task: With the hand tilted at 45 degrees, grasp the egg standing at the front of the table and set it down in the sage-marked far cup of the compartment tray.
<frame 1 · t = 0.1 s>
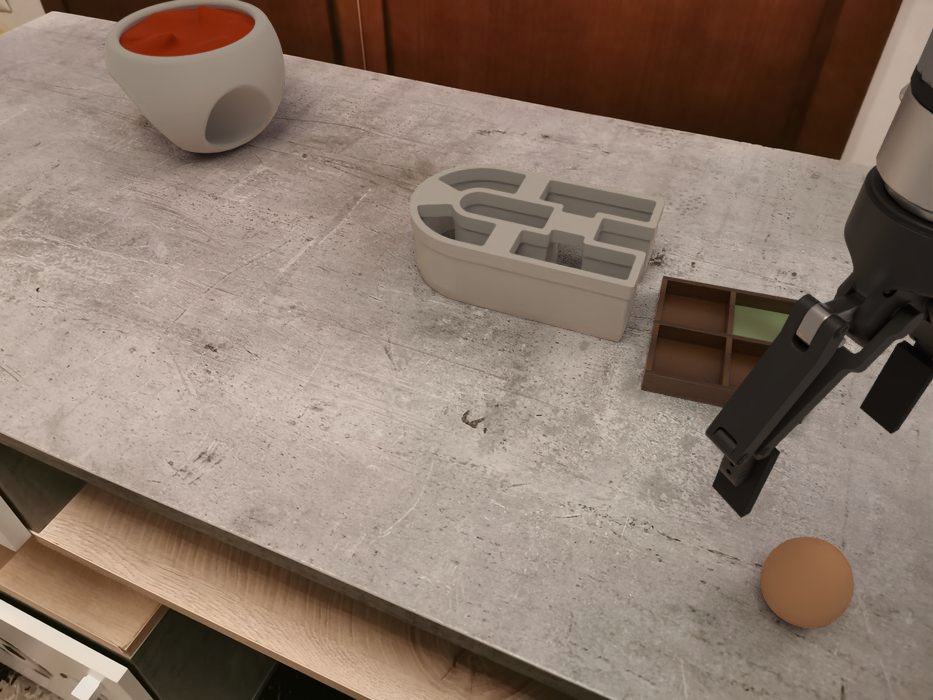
hand: (807, 457, 49), 17 cm above the worktop, tool pointing down, fingers open, 13 cm apart
pot: (219, 138, 112), on the worktop
grey compartment organizer: (524, 273, 89), on the worktop
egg: (789, 605, 59), on the worktop
compartment tray: (723, 352, 79), on the worktop
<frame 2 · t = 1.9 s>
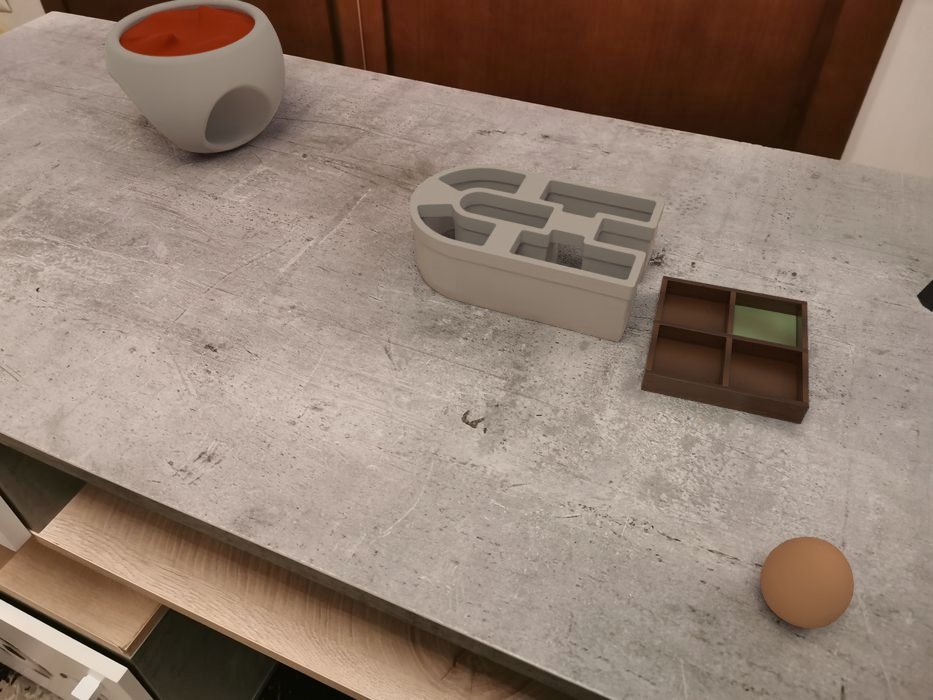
nothing on the worktop moved.
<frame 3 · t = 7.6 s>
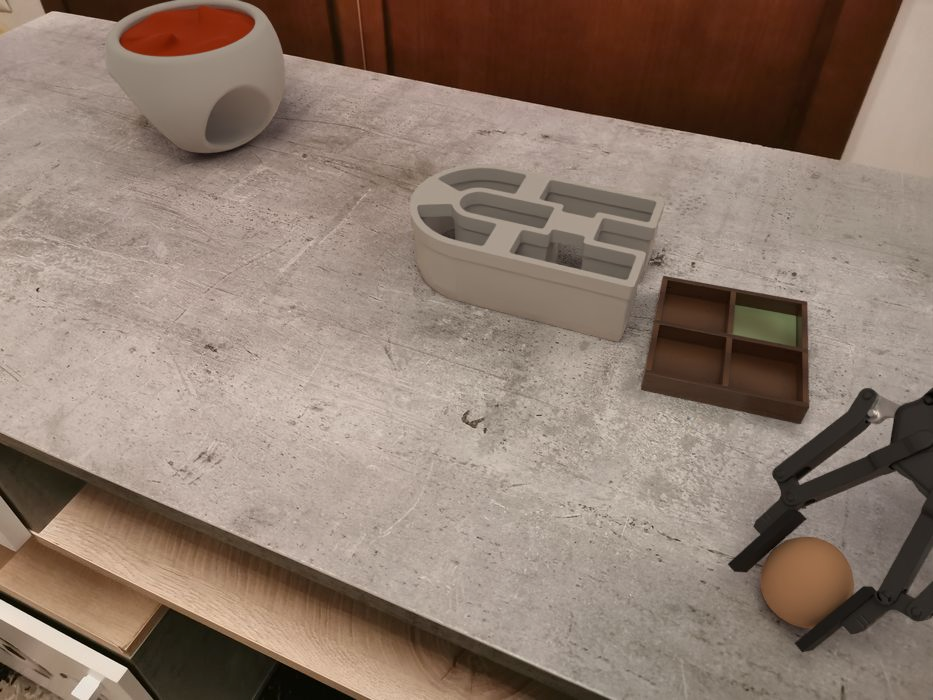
hand: (769, 605, 56), 3 cm above the worktop, tool tilted 45°, fingers closed on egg, 6 cm apart
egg: (789, 605, 59), on the worktop, touching gripper
everything else where it was.
when the fingers open (4 cm above the worktop, at t = 17.5 s): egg stays where it is, resting on compartment tray.
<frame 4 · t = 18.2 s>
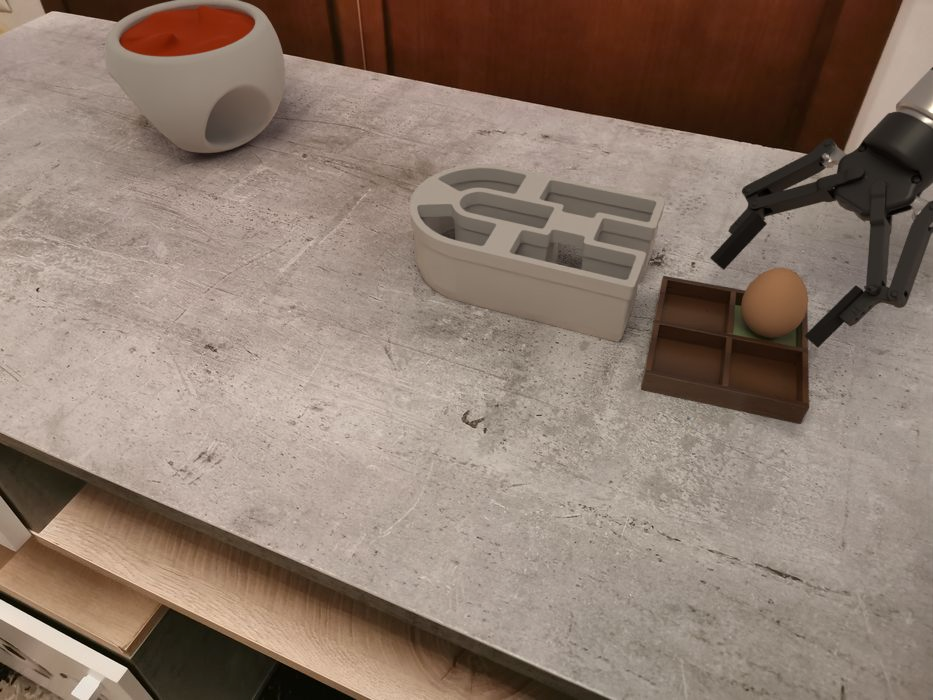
hand: (761, 301, 75), 6 cm above the worktop, tool tilted 45°, fingers open, 13 cm apart
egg: (763, 331, 80), point 1 cm above the worktop, touching compartment tray
everything else where it was.
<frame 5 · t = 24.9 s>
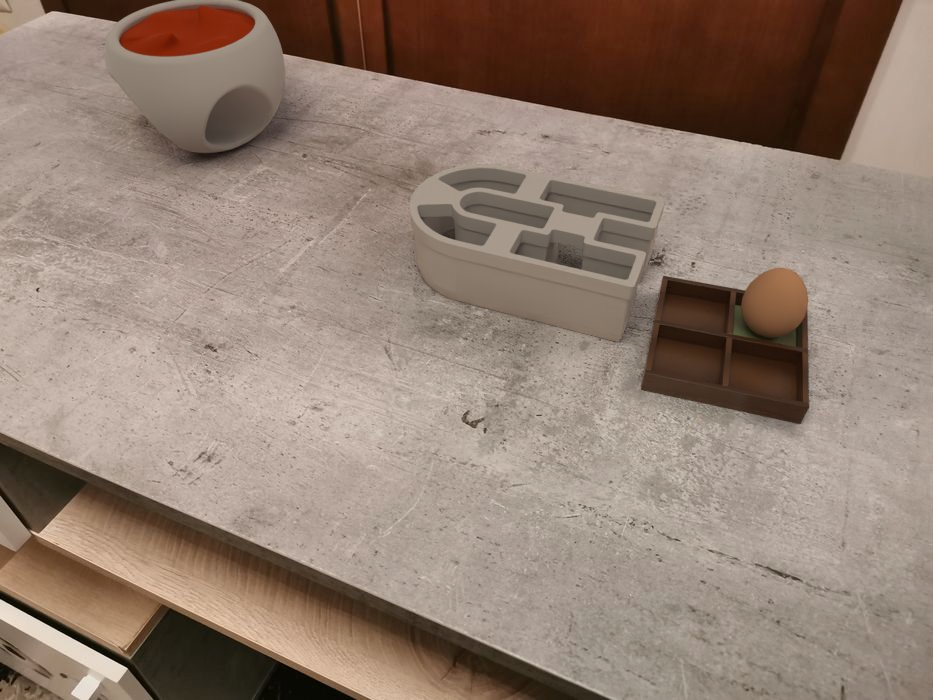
nothing on the worktop moved.
at the end: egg inside the target area in the compartment tray (0.2 cm from its centre), point 0.6 cm above the compartment tray's base; the gripper is holding nothing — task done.
